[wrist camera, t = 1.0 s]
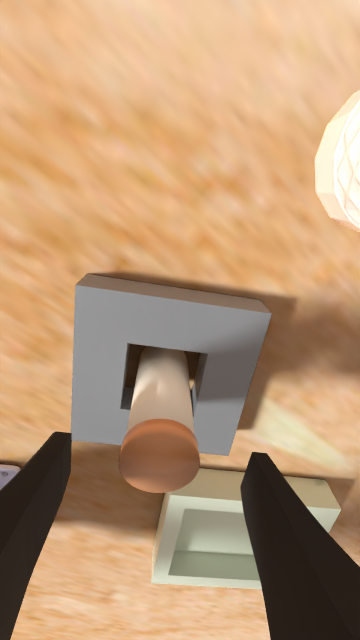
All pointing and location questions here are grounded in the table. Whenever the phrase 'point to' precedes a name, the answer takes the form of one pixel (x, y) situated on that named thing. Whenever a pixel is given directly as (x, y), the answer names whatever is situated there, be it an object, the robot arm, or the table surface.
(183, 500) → the parts tray
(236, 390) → the grey square frame
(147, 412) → the cylinder
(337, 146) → the white cup
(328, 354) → the table surface
